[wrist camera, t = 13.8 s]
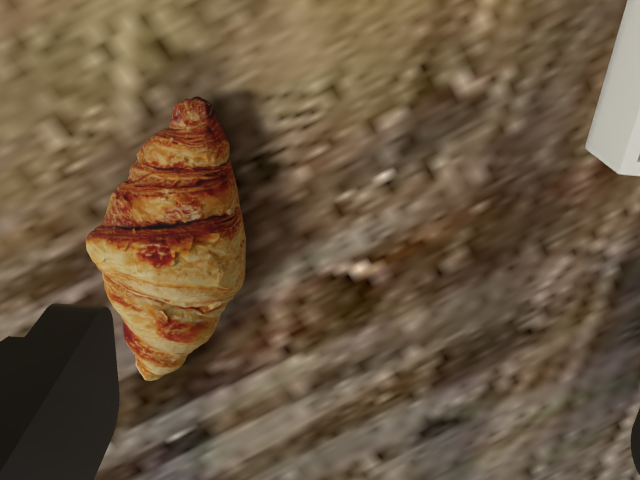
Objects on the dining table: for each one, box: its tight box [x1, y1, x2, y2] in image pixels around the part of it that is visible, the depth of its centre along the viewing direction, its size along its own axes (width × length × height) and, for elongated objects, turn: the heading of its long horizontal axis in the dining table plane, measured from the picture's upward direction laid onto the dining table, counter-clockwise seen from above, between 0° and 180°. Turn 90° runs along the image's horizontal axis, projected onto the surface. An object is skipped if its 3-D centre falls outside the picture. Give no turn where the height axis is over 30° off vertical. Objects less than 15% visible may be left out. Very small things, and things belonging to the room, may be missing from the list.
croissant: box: [86, 97, 246, 381], centre depth 40 cm, size 21×10×8 cm, turn 167°
